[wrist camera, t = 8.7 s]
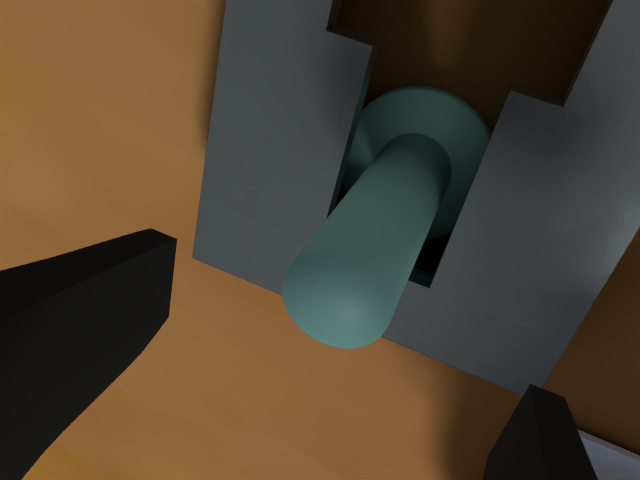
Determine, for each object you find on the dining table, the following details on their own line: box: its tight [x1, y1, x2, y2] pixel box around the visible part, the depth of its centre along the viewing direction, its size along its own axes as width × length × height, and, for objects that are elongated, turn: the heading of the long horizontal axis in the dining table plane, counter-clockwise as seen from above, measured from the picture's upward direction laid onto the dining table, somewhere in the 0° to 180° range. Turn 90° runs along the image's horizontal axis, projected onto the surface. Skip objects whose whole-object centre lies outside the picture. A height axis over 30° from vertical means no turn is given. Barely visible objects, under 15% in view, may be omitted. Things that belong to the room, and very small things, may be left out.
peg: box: [282, 85, 492, 349], centre depth 16 cm, size 5×5×9 cm
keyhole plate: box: [192, 0, 640, 396], centre depth 16 cm, size 16×12×3 cm
